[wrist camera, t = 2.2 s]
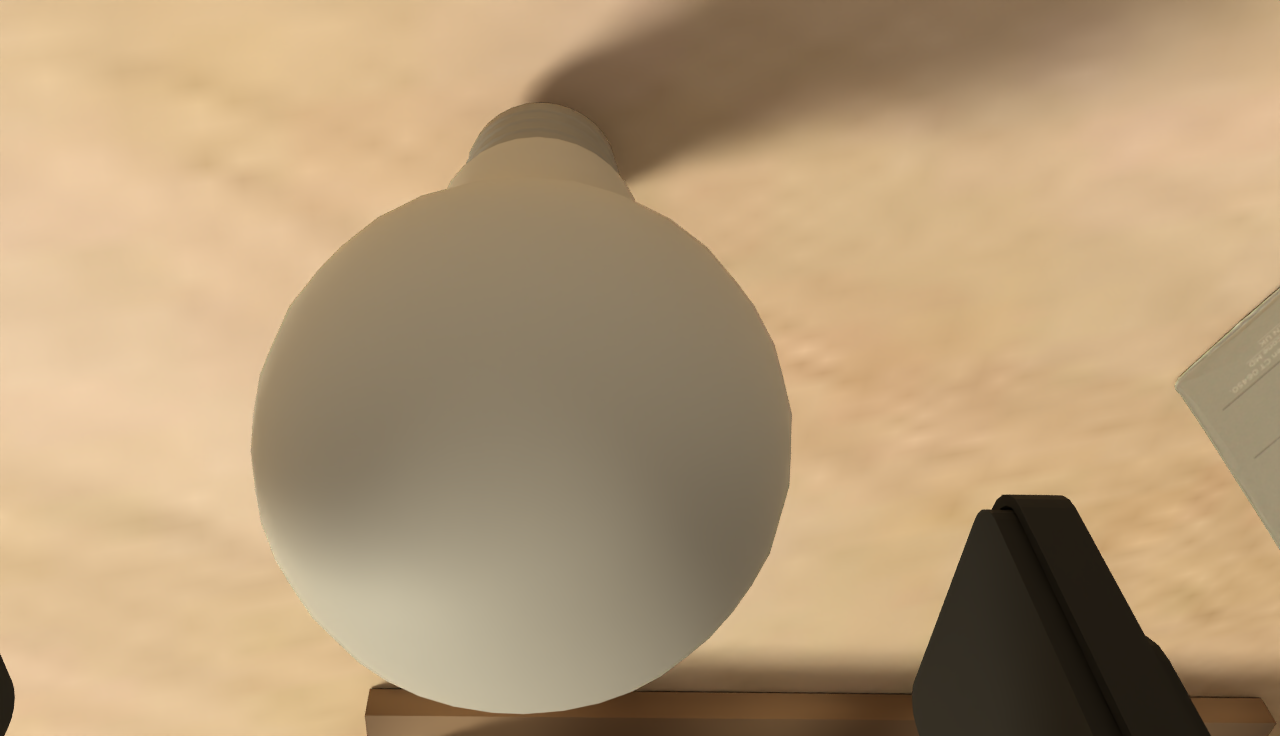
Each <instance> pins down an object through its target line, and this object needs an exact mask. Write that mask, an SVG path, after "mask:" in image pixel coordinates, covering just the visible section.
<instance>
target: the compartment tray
mask: <svg viewBox="0 0 1280 736" xmlns="http://www.w3.org/2000/svg"><path fill="white" fill-rule="evenodd" d="M1190 699H1191V700H1192V702H1193V704H1194V706H1195V708H1196V709H1197V711H1198V713H1199V715H1200V717H1201V718H1202V720H1203V722H1204V724H1205V726H1206V727H1207V729H1208V731H1209V733H1210V735H1211V736H1268V735H1269V733H1270V732H1271V730H1272V729H1273V727H1274V726H1275V725H1276V722H1275V720H1274V718H1273V717H1272V715H1271V714H1270V712H1269V710H1268V709H1267V707H1266V705H1265V704H1264V702H1263V701H1262V699H1261V698H1190ZM365 721H366V730H367V736H919V734H918V730H917V727H916V724H915V720H914V716H913V708H912V695H902V694H806V693H711V692H630V693H627V694H624V695H621V696H618V697H616V698H613V699H610V700H607V701H604V702H601V703H599V704H594V705H589V706H584V707H580V708H575V709H570V710H565V711H556V712H544V713H532V714H509V713H490V712H484V711H478V710H472V709H466V708H460V707H454V706H450V705H447V704H444V703H440V702H437V701H434V700H430V699H427V698H424V697H420V696H418V695H416V694H413V693H411V692H409V691H407V690H405V689H370V691H369V696H368V702H367V707H366V713H365Z"/></svg>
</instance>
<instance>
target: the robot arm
mask: <svg viewBox="0 0 1280 736" xmlns="http://www.w3.org/2000/svg"><path fill="white" fill-rule="evenodd" d="M14 700H15V696H14V687H13V683H12V680H11V678H10V676H9V673H8V671H7V669H6V666H5V664H4V662H3V659H2V657H1V655H0V736H4V735H5V733H6V731H7V729H8V726H9V724H10V721H11V718H12V714H13V709H14ZM912 708H913V716H914V720H915V724H916V727H917V730H918V734H919V736H1211V735H1210V733H1209V731H1208V729H1207V727H1206V726H1205V724H1204V722H1203V720H1202V718H1201V717H1200V715H1199V713H1198V711H1197V709H1196V708H1195V706H1194V704H1193V702H1192V700H1191V699H1190V697H1189V695H1188V693H1187V691H1186V690H1185V688H1184V686H1183V684H1182V682H1181V681H1180V679H1179V677H1178V675H1177V673H1176V672H1175V670H1174V668H1173V666H1172V664H1171V663H1170V661H1169V659H1168V658H1167V657H1166V655H1165V654H1164V652H1163V651H1162V650H1161V648H1160V647H1159V645H1157V644H1156V643H1155V642H1153V641H1152V640H1151V639H1149V638H1148V637H1147V636H1145V634H1144V633H1143V631H1142V629H1141V627H1140V625H1139V623H1138V622H1137V620H1136V618H1135V616H1134V614H1133V612H1132V611H1131V609H1130V607H1129V605H1128V603H1127V601H1126V600H1125V598H1124V596H1123V594H1122V592H1121V590H1120V589H1119V587H1118V585H1117V583H1116V581H1115V579H1114V578H1113V576H1112V574H1111V572H1110V570H1109V568H1108V567H1107V565H1106V563H1105V561H1104V559H1103V557H1102V556H1101V554H1100V552H1099V550H1098V548H1097V546H1096V545H1095V543H1094V541H1093V539H1092V537H1091V535H1090V534H1089V532H1088V530H1087V528H1086V526H1085V524H1084V523H1083V521H1082V519H1081V517H1080V515H1079V513H1078V512H1077V510H1076V508H1075V507H1074V505H1073V504H1072V502H1071V501H1070V500H1069V499H1067V498H1066V497H1064V496H1059V495H1002V496H1001V497H1000V498H998V499H997V501H996V502H995V504H994V506H993V508H992V510H981V511H980V512H979V513H978V515H977V516H976V518H975V521H974V523H973V526H972V529H971V531H970V534H969V537H968V539H967V542H966V545H965V547H964V550H963V553H962V555H961V558H960V561H959V563H958V566H957V569H956V571H955V574H954V577H953V579H952V582H951V585H950V587H949V590H948V593H947V595H946V598H945V601H944V604H943V606H942V609H941V612H940V614H939V617H938V620H937V622H936V625H935V628H934V630H933V633H932V636H931V638H930V641H929V644H928V646H927V649H926V652H925V654H924V657H923V660H922V662H921V665H920V668H919V670H918V673H917V676H916V678H915V681H914V685H913V691H912Z"/></svg>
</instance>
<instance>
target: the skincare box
mask: <svg viewBox="0 0 1280 736" xmlns="http://www.w3.org/2000/svg"><path fill="white" fill-rule="evenodd" d="M1175 389H1176V391H1177V392H1178V393H1179V394H1180V395H1181V397H1182V398H1183V400H1184V401H1185V403H1186V404H1187V406H1188V407H1189V409H1190V410H1191V412H1192V413H1193V414H1194V416H1195V417H1196V419H1197V420H1198V422H1199V423H1200V425H1201V426H1202V428H1203V429H1204V431H1205V433H1206V434H1207V436H1208V437H1209V439H1210V440H1211V442H1212V444H1213V445H1214V447H1215V448H1216V450H1217V451H1218V453H1219V455H1220V456H1221V458H1222V459H1223V461H1224V462H1225V464H1226V466H1227V467H1228V469H1229V470H1230V472H1231V473H1232V475H1233V477H1234V478H1235V480H1236V481H1237V483H1238V484H1239V486H1240V488H1241V489H1242V491H1243V492H1244V494H1245V495H1246V497H1247V499H1248V500H1249V502H1250V503H1251V505H1252V506H1253V508H1254V510H1255V511H1256V513H1257V514H1258V516H1259V517H1260V519H1261V521H1262V522H1263V524H1264V525H1265V527H1266V529H1267V530H1268V532H1269V533H1270V535H1271V537H1272V538H1273V540H1274V541H1275V543H1276V545H1277V546H1278V548H1279V549H1280V288H1279V289H1278V290H1277V291H1275V292H1274V293H1273V294H1272V295H1271V296H1270V297H1268V298H1267V299H1266V300H1265V301H1264V302H1263V303H1261V304H1260V305H1259V306H1258V307H1257V308H1256V309H1255V310H1254V311H1253V312H1251V313H1250V314H1249V315H1248V316H1247V317H1246V318H1244V319H1243V320H1242V321H1240V322H1239V323H1238V324H1237V325H1236V326H1235V327H1234V328H1233V329H1232V330H1231V331H1230V332H1228V333H1227V334H1226V335H1225V336H1224V337H1223V338H1222V339H1221V340H1220V341H1218V342H1217V343H1216V344H1215V345H1214V346H1213V347H1212V348H1211V349H1209V350H1208V351H1207V352H1206V353H1205V354H1204V355H1203V356H1202V357H1201V358H1200V359H1199V360H1198V361H1196V362H1195V363H1194V364H1193V365H1192V366H1191V367H1190V368H1189V369H1188V370H1187V371H1186V372H1184V373H1183V374H1182V375H1181V376H1180V377H1179V378H1178V379H1177V381H1176V383H1175Z"/></svg>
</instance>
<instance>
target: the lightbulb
mask: <svg viewBox="0 0 1280 736" xmlns="http://www.w3.org/2000/svg"><path fill="white" fill-rule="evenodd" d="M791 421H792V413H791V409H790V405H789V400H788V396H787V392H786V388H785V384H784V379H783V375H782V371H781V367H780V364H779V360H778V356H777V352H776V349H775V345H774V343H773V341H772V339H771V337H770V335H769V333H768V331H767V329H766V327H765V326H764V324H763V322H762V320H761V318H760V316H759V314H758V312H757V310H756V308H755V306H754V305H753V303H752V302H751V301H750V299H749V298H748V297H747V295H746V294H745V293H744V291H743V290H742V289H741V287H740V286H739V285H738V283H737V282H736V281H735V279H734V278H733V277H732V276H731V275H730V274H729V272H728V271H727V270H726V269H725V268H724V267H723V265H722V264H721V263H720V262H719V261H718V259H717V258H716V257H715V256H714V255H713V254H712V252H711V251H710V250H709V249H708V248H707V247H706V246H705V245H703V244H702V243H701V242H700V241H698V240H697V239H696V238H694V237H693V236H692V235H690V234H689V233H688V232H687V231H685V230H684V229H683V228H681V227H680V226H679V225H677V224H676V223H675V222H674V221H672V220H671V219H669V218H667V217H665V216H663V215H661V214H659V213H657V212H655V211H653V210H651V209H649V208H647V207H645V206H643V205H641V204H639V203H637V202H635V199H634V197H633V195H632V193H631V192H630V190H629V188H628V186H627V185H626V183H625V181H624V180H623V179H622V178H621V177H620V176H619V171H618V168H617V165H616V161H615V158H614V155H613V152H612V149H611V146H610V144H609V142H608V141H607V139H606V137H605V135H604V134H603V133H602V131H601V130H600V129H599V128H598V127H597V126H596V124H594V123H593V122H592V121H591V120H589V119H588V118H587V117H586V116H584V115H583V114H581V113H579V112H577V111H575V110H573V109H571V108H568V107H565V106H561V105H558V104H551V103H542V102H541V103H529V104H524V105H520V106H517V107H513V108H511V109H509V110H507V111H505V112H503V113H501V114H499V115H498V116H497V117H495V118H494V119H493V120H492V121H490V122H489V123H488V124H487V125H486V127H485V128H484V129H483V130H482V131H481V133H480V134H479V136H478V138H477V140H476V141H475V143H474V145H473V147H472V149H471V151H470V153H469V159H468V161H467V163H466V165H464V166H463V167H462V168H461V170H460V171H459V172H458V173H457V174H456V176H455V177H454V178H453V179H452V180H451V182H450V184H449V186H448V188H447V189H445V190H441V191H437V192H434V193H430V194H426V195H423V196H420V197H418V198H416V199H414V200H412V201H410V202H408V203H406V204H404V205H402V206H400V207H398V208H396V209H394V210H392V211H390V212H388V213H386V214H384V215H382V216H380V217H378V218H377V219H375V220H374V221H373V222H372V223H370V224H369V225H368V226H366V227H365V228H364V229H363V230H361V231H360V232H359V233H358V234H356V235H355V236H354V237H353V238H351V239H350V240H349V241H347V242H346V243H345V244H344V245H342V246H341V247H340V248H339V249H338V250H337V251H336V252H335V253H334V254H333V255H332V256H331V257H330V258H329V259H328V261H327V262H326V263H325V264H324V265H323V266H322V267H321V268H320V269H319V270H318V271H317V272H316V274H315V275H314V276H313V277H312V279H311V280H310V281H309V282H308V284H307V285H306V286H305V287H304V289H303V290H302V291H301V292H300V294H299V295H298V296H297V297H296V299H295V300H294V301H293V302H292V304H291V305H290V306H289V308H288V311H287V313H286V315H285V317H284V319H283V322H282V324H281V326H280V328H279V330H278V333H277V335H276V337H275V339H274V341H273V344H272V346H271V348H270V351H269V353H268V356H267V358H266V361H265V363H264V366H263V368H262V371H261V373H260V377H259V383H258V389H257V395H256V401H255V407H254V413H253V423H252V440H251V456H252V466H253V475H254V485H255V493H256V498H257V503H258V508H259V513H260V519H261V524H262V527H263V529H264V532H265V534H266V537H267V540H268V542H269V545H270V548H271V550H272V553H273V555H274V558H275V560H276V562H277V564H278V565H279V567H280V569H281V570H282V572H283V574H284V575H285V577H286V579H287V580H288V582H289V584H290V585H291V587H292V589H293V590H294V592H295V593H296V595H297V596H298V598H299V599H300V600H301V602H302V603H303V605H304V606H305V608H306V609H307V611H308V612H309V614H310V615H311V617H312V618H313V619H314V620H315V621H316V622H317V623H318V624H319V625H320V626H321V627H322V628H323V629H324V630H325V631H326V632H327V633H328V634H329V635H330V636H331V637H332V638H334V639H335V640H336V641H337V642H338V643H339V644H340V645H341V646H342V647H343V648H344V649H345V650H346V651H347V652H348V653H349V654H350V655H351V656H352V657H354V658H355V659H356V660H357V661H358V662H359V663H360V664H362V665H363V666H365V667H366V668H368V669H369V670H371V671H372V672H374V673H375V674H377V675H378V676H380V677H381V678H383V679H384V680H386V681H387V682H389V683H392V684H394V685H396V686H398V687H400V688H402V689H405V690H407V691H409V692H411V693H413V694H416V695H418V696H420V697H424V698H427V699H430V700H434V701H437V702H440V703H444V704H447V705H450V706H454V707H460V708H466V709H472V710H478V711H484V712H490V713H509V714H532V713H544V712H556V711H565V710H570V709H575V708H580V707H584V706H589V705H594V704H599V703H601V702H604V701H607V700H610V699H613V698H616V697H618V696H621V695H624V694H627V693H630V692H632V691H634V690H636V689H638V688H640V687H642V686H644V685H645V684H647V683H649V682H651V681H653V680H655V679H657V678H659V677H661V676H662V675H663V674H665V673H666V672H667V671H669V670H670V669H671V668H673V667H674V666H675V665H677V664H678V663H679V662H680V661H682V660H683V659H684V658H686V657H687V656H688V655H689V654H691V653H692V652H693V651H694V650H695V649H697V648H698V647H699V646H700V645H701V644H703V643H704V642H705V641H706V640H707V639H709V638H710V637H711V636H712V634H713V633H714V632H715V631H716V630H717V629H718V628H719V627H720V626H721V624H722V623H723V622H724V621H725V620H726V619H727V618H728V617H729V616H730V614H731V613H732V612H733V611H734V609H735V608H736V607H737V605H738V604H739V602H740V601H741V600H742V598H743V597H744V595H745V594H746V593H747V591H748V590H749V588H750V587H751V586H752V584H753V582H754V580H755V578H756V577H757V575H758V573H759V571H760V570H761V568H762V566H763V564H764V563H765V561H766V559H767V557H768V556H769V554H770V551H771V547H772V544H773V540H774V537H775V534H776V530H777V527H778V523H779V520H780V516H781V513H782V509H783V506H784V502H785V499H786V495H787V492H788V488H789V480H790V459H791Z"/></svg>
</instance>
